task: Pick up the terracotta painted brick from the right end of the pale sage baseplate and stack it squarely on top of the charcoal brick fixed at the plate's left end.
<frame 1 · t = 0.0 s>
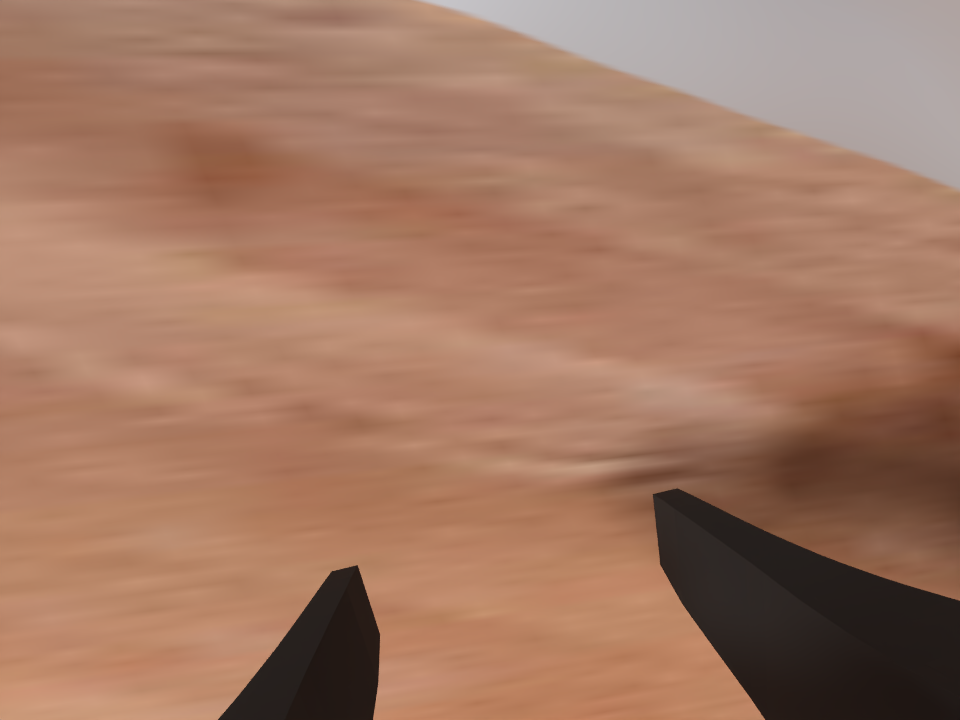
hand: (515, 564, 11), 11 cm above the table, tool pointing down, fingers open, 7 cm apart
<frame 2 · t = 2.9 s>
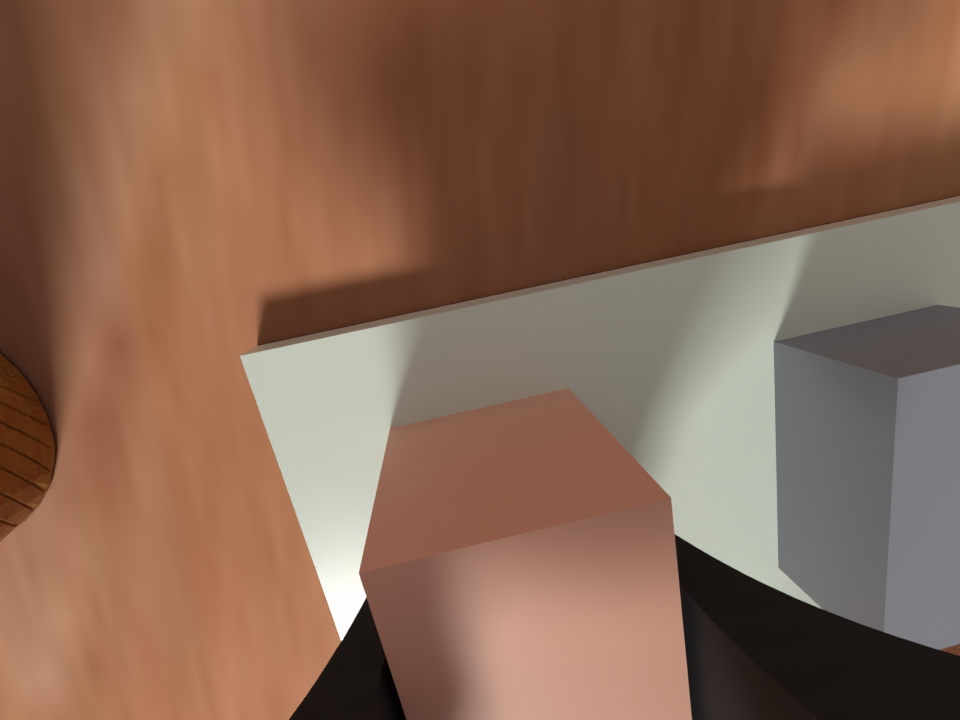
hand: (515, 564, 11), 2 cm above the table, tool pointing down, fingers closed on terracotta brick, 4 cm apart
baseplate: (664, 468, 13), on the table
charcoal brick: (852, 444, 13), resting on baseplate
terracotta brick: (505, 528, 12), point 1 cm above the table, touching baseplate, gripper
when the fingers open (7 cm above the table, at t = 5.8 s): terracotta brick drops 1 cm, resting on charcoal brick.
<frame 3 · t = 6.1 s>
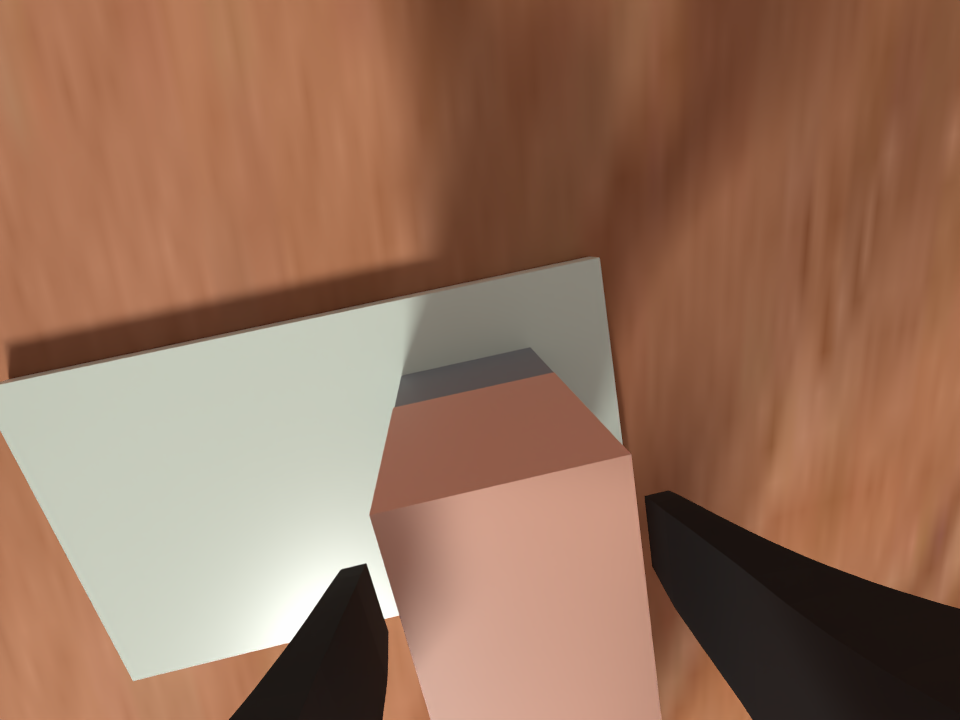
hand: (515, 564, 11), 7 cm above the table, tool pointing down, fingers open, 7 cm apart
baseplate: (354, 470, 17), on the table
charcoal brick: (485, 452, 16), resting on baseplate
terracotta brick: (497, 500, 13), point 4 cm above the table, touching charcoal brick
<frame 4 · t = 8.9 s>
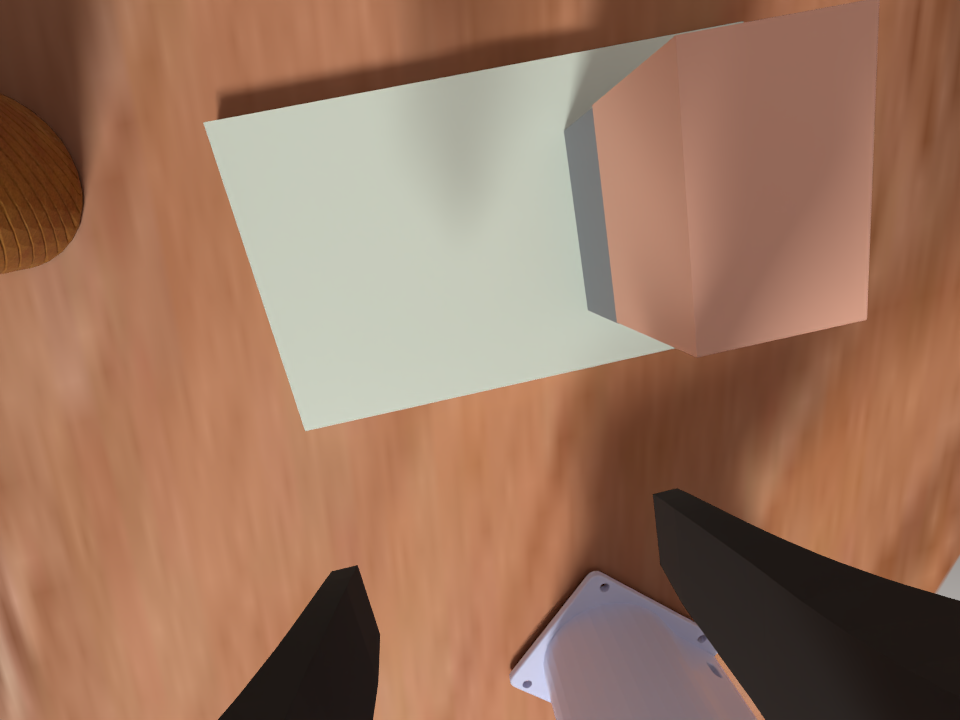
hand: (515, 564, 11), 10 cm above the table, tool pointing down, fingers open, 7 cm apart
baseplate: (506, 238, 19), on the table
charcoal brick: (630, 213, 18), resting on baseplate
terracotta brick: (669, 207, 15), point 4 cm above the table, touching charcoal brick
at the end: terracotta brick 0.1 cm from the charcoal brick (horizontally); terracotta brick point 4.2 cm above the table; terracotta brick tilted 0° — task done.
